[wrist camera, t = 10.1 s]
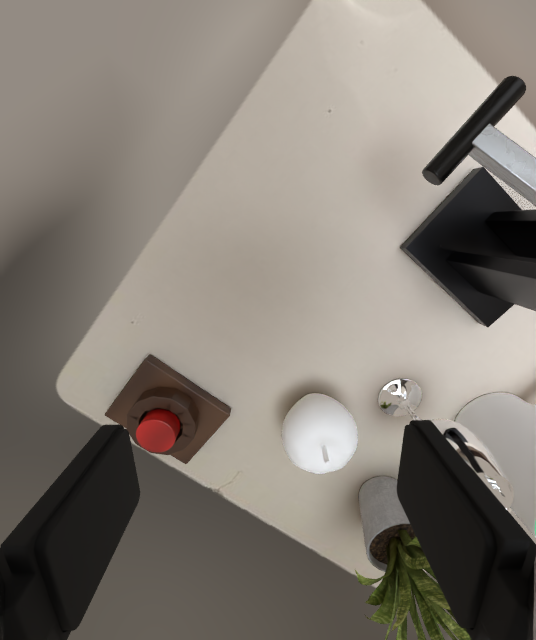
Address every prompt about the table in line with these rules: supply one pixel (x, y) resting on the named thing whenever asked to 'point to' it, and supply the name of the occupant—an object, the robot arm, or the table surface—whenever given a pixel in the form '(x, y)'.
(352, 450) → the plain white apple
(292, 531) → the table surface
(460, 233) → the bracket
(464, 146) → the lever
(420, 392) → the wineglass
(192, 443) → the button block
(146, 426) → the button
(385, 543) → the house plant
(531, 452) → the mug
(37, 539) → the robot arm
